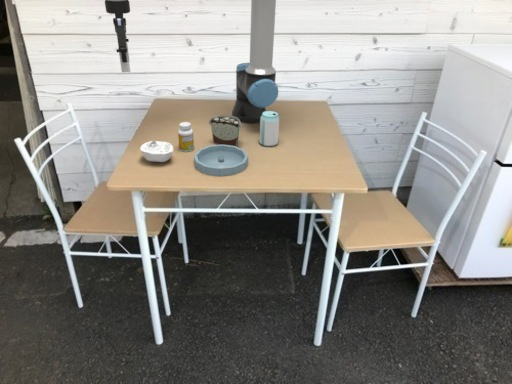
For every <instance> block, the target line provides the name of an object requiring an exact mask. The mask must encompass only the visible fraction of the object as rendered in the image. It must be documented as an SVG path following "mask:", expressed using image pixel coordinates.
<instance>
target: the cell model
mask: <svg viewBox="0 0 512 384" xmlns="http://www.w3.org/2000/svg"><path fill="white" fill-rule="evenodd" d="M139 150H140V152H141V153H142V156H143V158H144V159H145V160H146V161H148V162H151V163H152V162H154V163H155V162H156V163H157V162H158V163H165V162H167V161H168V160H169V159H171V157H172V154H173V152H174V146H173V145H172V144H171V143H170V142H168V141H158V140H150V141H147V142H144V143H143V144H141V145H140V148H139Z"/></svg>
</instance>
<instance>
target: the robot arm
mask: <svg viewBox="0 0 512 384" xmlns="http://www.w3.org/2000/svg"><path fill="white" fill-rule="evenodd" d="M250 1H251V4H250V6H251V7H250V8H251V9H250V38H249V39H250V43H249V46H250V47H249V62H243V63H239V64H237V65H236V70H235V74H236V75H235V77H236V78H235V79H236V81H235V84H236V87H235V91H236V93H235V94H236V95H235V96H236V98H235V102H234V104H233V105H234V106H233V109H232V112H231V116H234V117H237V118H238V119H239V120H240V122H241V123H244V124H245V123H246V124H256V123H257V124H258V123H260V117H261V116H262V113H263V112H265V111H267V109H266V108H267V107H270V106H271V105H272V104H273V103H275V102H276V100H277V98H278V97H279V87H278V84H277V83H276V74H277V71H276V69H275V67H274V66H273V56H274V39H275V25H276V24H275V23H276V9H277V8H276V6H277V4H276V3H277V0H250ZM130 6H131V5H130V0H104V7H105V11H106V13H107V14H111V15H112V14H114V16H115V17H113V19H112V22H113V26H114V32H115V33H116V39H117V45H118V49H116V53H118V54H119V55H118V56H119V62H120V63H119V64H120V69H121V73H130V72H131V67H130V62H131V60H130V54H129V46H128V43H129V38H127V35H126V33H127V20H126V17H124V14H129V13H130V12H131V7H130Z"/></svg>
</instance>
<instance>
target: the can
mask: <svg viewBox="0 0 512 384" xmlns="http://www.w3.org/2000/svg"><path fill="white" fill-rule="evenodd" d="M279 131H280V117H279V113H278V112H276V111H273V110H266V111H265V112H263V113H262V116H261V117H260V122H259V143H260V144H261V145H262V146H264V147H274V146H276V145H278V143H279Z"/></svg>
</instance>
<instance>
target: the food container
mask: <svg viewBox="0 0 512 384" xmlns="http://www.w3.org/2000/svg"><path fill="white" fill-rule="evenodd" d="M209 124H210V128H211V133H212V134H211V135H212V142H213V145H221V144H222V145H223V144H224V145H231V146H236V147H238V144H239V135H240V129H241V128H242V122H240V120H239V119H238V118H237V117H234V116H232V115H230V114H229V115H227V114H221V115H215V116H212V117H211V118H209Z"/></svg>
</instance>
